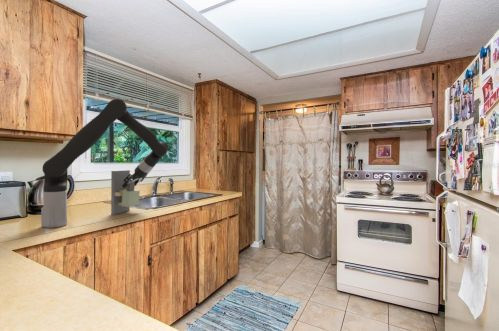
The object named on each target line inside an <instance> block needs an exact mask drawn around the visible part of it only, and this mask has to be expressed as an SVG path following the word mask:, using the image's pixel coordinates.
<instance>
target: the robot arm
mask: <svg viewBox="0 0 499 331" xmlns="http://www.w3.org/2000/svg"><path fill="white" fill-rule="evenodd" d="M116 120H118V121H119V122H120V123H122V124H123V125H124V126H126V127H127V128H128V129H130V130H131V131H132V132H133V133H134V134H135V135H136V136H137V137H138V138H139V139H140V140H142V141H143V143H145V144H146V145H147V146H148V147H149V149H150V150H151V152H150V153H148V155H146V156H145V158H144V159H143V160H141V162H140V163H139V164H138V165H137V166H136V167H135V168H134V172H133V173H132V174H131V173H130V174H129V175H128V176H127V177H126V178H125V179H124V180H123V181H124V182H125V183H124V184H123V185H122V187H123V188H125V187H126V186H127V185H128V184H129V183H131V182H134V181H135V187H136V186H137V185H138V184H140V182H143V181H144V180H145V179H146V178H147V176H148V174H149V173H150V172H151V171H152V170H153V169H154V167H156V165H158V163H159V161H160V160H161V159H162V157H163V156H166V154H167V153H168V151H169V149H170V148H169V144H168V143H167V142H165V141H159V140H158V139H157V138H158V137H157V136H156V134H155V133H154V132H153V131H151V130H150V129H149V128H148V127H147V126H146V125H144V124H143V123H141V122H140V121H138V119H136V118H135V117H133V116H132V115H131V113H130V112H129V111H128V107H127V104H126V102H125V101H124V100H122V99H119V98H114V99H112V100H110V101H109V102H108V103H107V105H105V107H104V108H102V110H101V111H100V112H99V113H98V114H97V115H96V116H95V117H94V118H92V119H91V120H90V121H89V122H88V123H86V124H84V126H83V127H82V128H81V129H79V130H78V131H77V132H76V133H75V135H74V136H72V138H71V139H70V140H69V141H68V142H67V143H66V145H64V146H63V148H62V149H60V150H59V151H58V152H57V153H55V155H53V156H51V158H49V159H47V160H46V161H45V162H44V163H43V165H42V172H43V174H44V176H43V177H44V181H43V182H44V183H43V192H42V193H43V194H42V195H43V199H42V200H43V201H42V202H43V206H42V207H41V208H40V210H41V211H40V212H41V213H40V217H41V221H40V222H41V224H40V226H41V228H46V229H52V228H59V227H64V226H66V225H68V169H69V167H71V165H72V164H73V163H74V162H75V161H76V160H77V159H78V158H79V157H80V156H82V155H84V153H86V152H87V151H88V150H90V149H91V148H92V147H93V146H94V145H95V144H96V143H98V142H99V140H100V139H101V138H102V137H103V136H104V134H105V133H106V132H107V130H108V129H109V127H110V126H111V125H112V124H113V123H114V122H115V121H116ZM126 179H127V180H126Z"/></svg>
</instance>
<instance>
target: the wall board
mask: <svg viewBox="0 0 499 331" xmlns="http://www.w3.org/2000/svg"><path fill="white" fill-rule="evenodd" d="M110 172H111V175H110V176H111V179H110V180H111V182H110V183H111V184H110V185H111V188H110V189H111V190H110V191H111V192H110V194H111V196H110V198H111V199H110V200H111V201H110V203H111V204H110V205H111V207H110V209H111V210H110V212H111V214H110V215H117V214H120V213H121V214H122V213H124V212H129V211H130V209H131V208H130V207H125V206H121V205H118V203H119V202H122V192H119V190H125V189H126V187H125V188H123V187H122V185H123V184H124V183H125V182H124V181H123V180H124V179H125V178H126V177H127V176H128V175H129V174H131V171H130V170H129V169H128V170H127V169H126V170H123V169H122V170H111V171H110ZM126 180H127V179H126Z"/></svg>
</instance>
